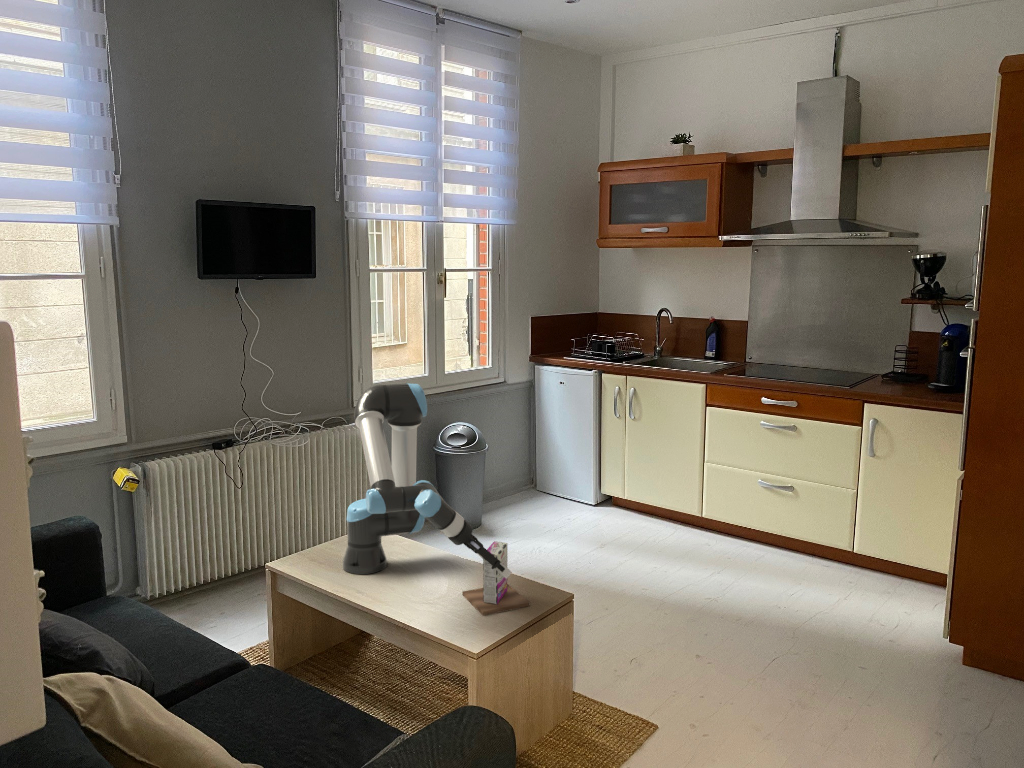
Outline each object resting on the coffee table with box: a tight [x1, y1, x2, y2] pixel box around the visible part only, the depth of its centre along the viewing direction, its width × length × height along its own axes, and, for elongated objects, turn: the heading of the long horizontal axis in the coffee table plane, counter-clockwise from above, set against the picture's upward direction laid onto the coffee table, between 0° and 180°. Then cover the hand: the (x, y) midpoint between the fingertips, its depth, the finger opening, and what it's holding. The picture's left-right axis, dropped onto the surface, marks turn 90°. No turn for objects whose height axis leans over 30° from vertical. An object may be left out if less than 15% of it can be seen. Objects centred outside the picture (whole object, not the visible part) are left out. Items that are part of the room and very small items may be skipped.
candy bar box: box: [482, 541, 509, 604], centre depth 248 cm, size 11×5×16 cm, turn 163°
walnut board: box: [462, 583, 530, 616], centre depth 250 cm, size 16×16×1 cm
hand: (499, 567), depth 249 cm, fingers open, 13 cm apart
